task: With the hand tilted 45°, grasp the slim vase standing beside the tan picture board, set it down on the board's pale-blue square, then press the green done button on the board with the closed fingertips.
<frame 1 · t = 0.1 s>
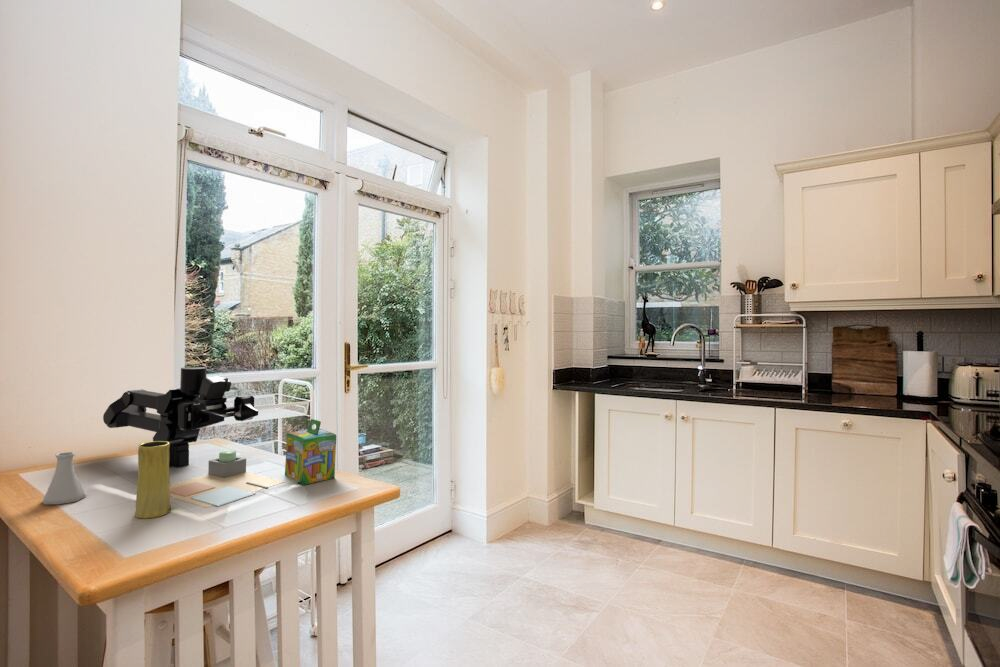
hand: (241, 415, 123), 17 cm above the table, tool horizontal, fingers open, 9 cm apart
button housing: (227, 473, 129), resting on picture board
picture board: (219, 489, 119), on the table
chalk box: (310, 478, 130), on the table
flask: (64, 500, 110), on the table
done button: (227, 459, 128), point 4 cm above the table, slide at 0.0 cm
vase: (153, 514, 104), on the table
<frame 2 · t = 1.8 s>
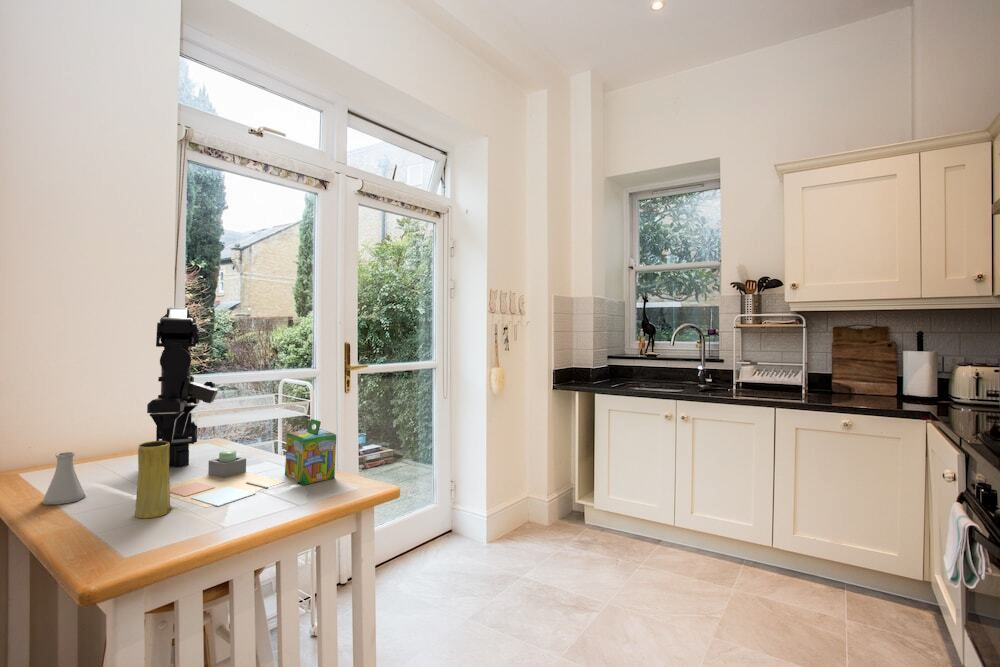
hand: (174, 439, 118), 12 cm above the table, tool pointing down, fingers open, 9 cm apart
nothing on the table moved.
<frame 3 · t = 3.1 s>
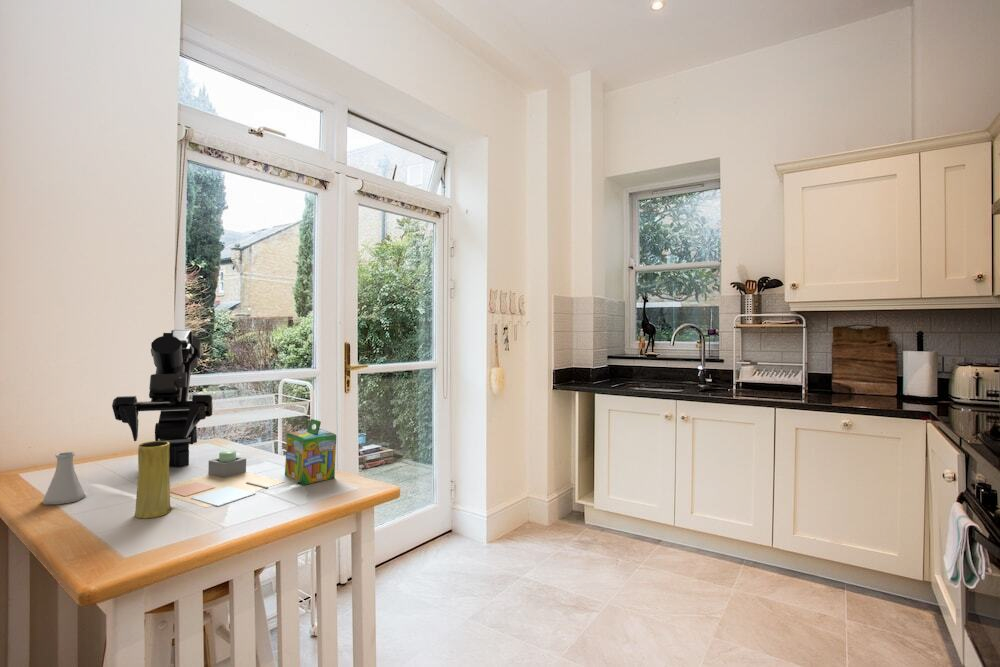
hand: (160, 438, 111), 13 cm above the table, tool tilted 45°, fingers open, 9 cm apart
nothing on the table moved.
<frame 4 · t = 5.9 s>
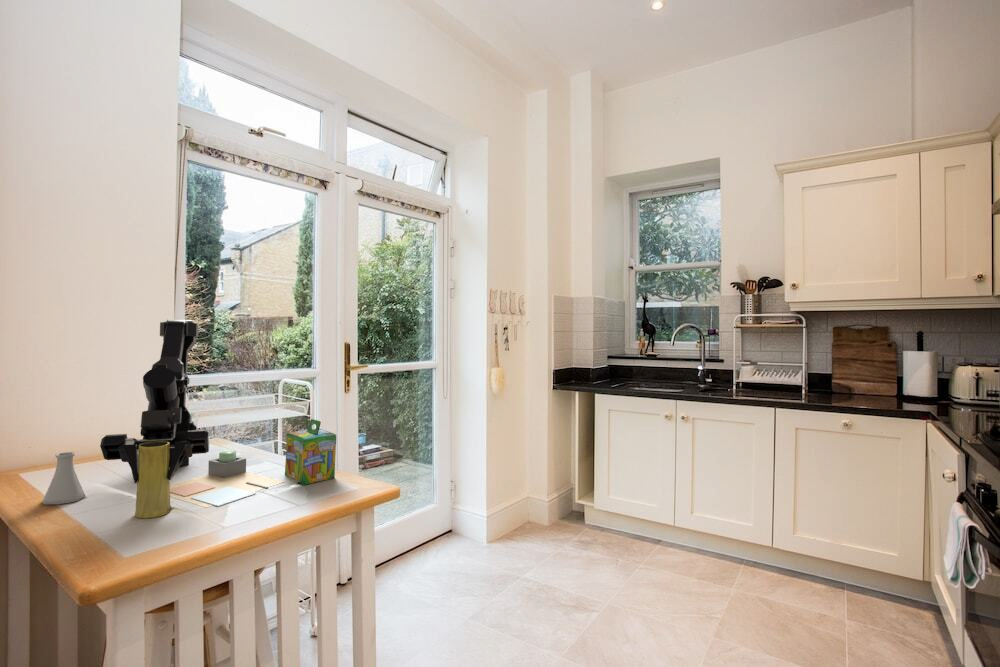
hand: (152, 480, 103), 7 cm above the table, tool tilted 45°, fingers closed on vase, 5 cm apart
vase: (153, 514, 104), on the table, touching gripper
everything else where it was.
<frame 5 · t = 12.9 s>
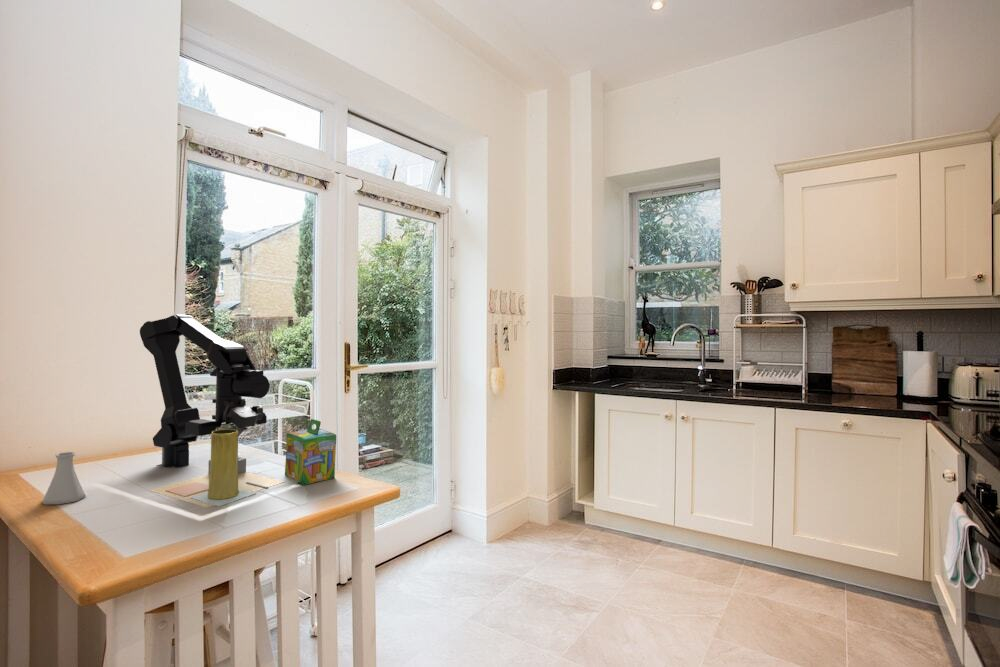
hand: (227, 456, 128), 5 cm above the table, tool pointing down, fingers closed, pressing on done button
done button: (227, 463, 128), point 3 cm above the table, slide at 1.0 cm, touching gripper
vase: (223, 496, 113), point 1 cm above the table, touching picture board
everything else where it was.
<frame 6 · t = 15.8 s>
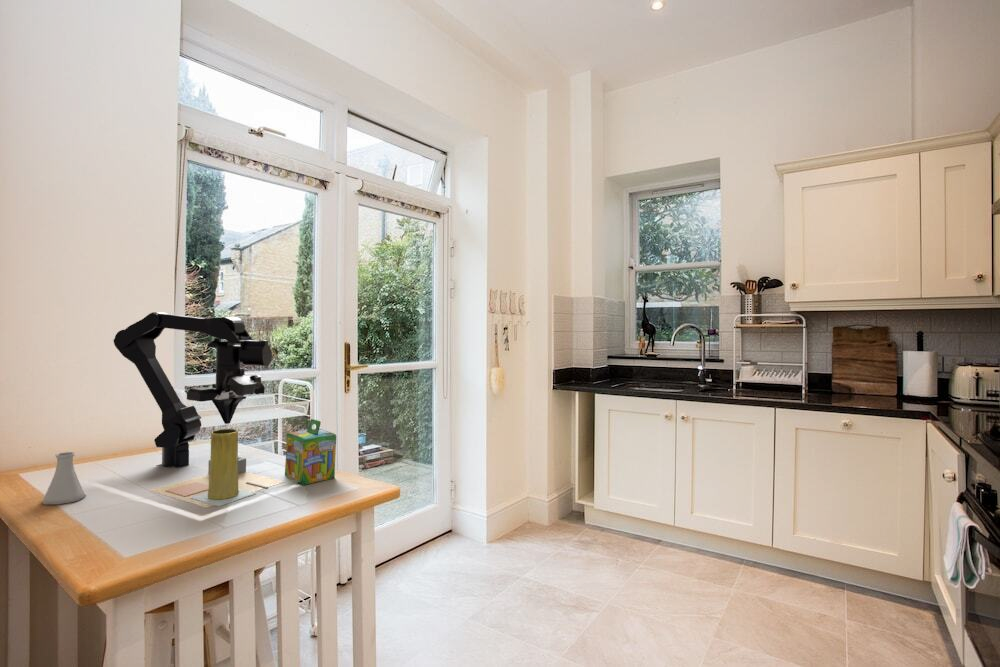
hand: (227, 423, 134), 12 cm above the table, tool pointing down, fingers closed
done button: (227, 464, 128), point 3 cm above the table, slide at 1.3 cm
everything else where it was.
at the end: vase inside the target area (0.2 cm from its centre), point 0.8 cm above the table; vase tilted 0°; done button slide at 1.3 cm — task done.
